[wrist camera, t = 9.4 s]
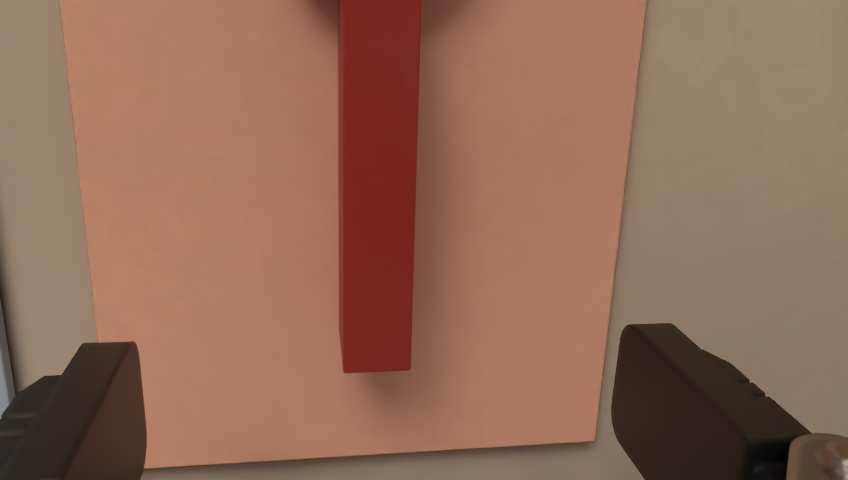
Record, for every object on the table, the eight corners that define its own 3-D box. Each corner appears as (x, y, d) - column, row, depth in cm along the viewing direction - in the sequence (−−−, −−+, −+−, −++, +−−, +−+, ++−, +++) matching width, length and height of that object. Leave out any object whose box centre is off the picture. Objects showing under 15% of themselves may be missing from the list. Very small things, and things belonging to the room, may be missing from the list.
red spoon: (259, -240, 13) (251, -284, 11) (483, -220, 14) (514, -260, 12) (277, 331, 17) (273, 377, 15) (456, 325, 17) (477, 368, 15)
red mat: (49, -136, 14) (42, -140, 13) (651, -99, 15) (659, -102, 15) (116, 461, 18) (112, 471, 17) (589, 433, 19) (595, 442, 19)
